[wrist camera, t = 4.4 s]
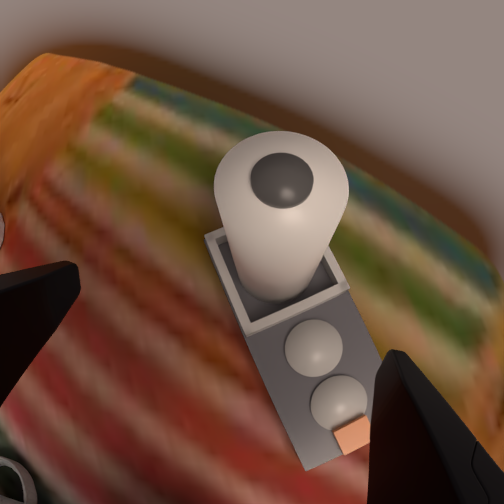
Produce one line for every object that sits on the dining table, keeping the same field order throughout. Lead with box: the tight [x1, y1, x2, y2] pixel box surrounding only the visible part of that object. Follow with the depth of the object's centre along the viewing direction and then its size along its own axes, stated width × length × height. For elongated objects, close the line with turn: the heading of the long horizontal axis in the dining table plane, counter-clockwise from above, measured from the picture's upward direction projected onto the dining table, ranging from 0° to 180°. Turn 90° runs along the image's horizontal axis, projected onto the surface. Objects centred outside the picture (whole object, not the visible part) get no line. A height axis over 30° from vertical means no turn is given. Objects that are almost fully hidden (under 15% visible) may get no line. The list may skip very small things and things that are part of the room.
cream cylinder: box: [214, 131, 349, 304], centre depth 14 cm, size 4×4×9 cm
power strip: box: [204, 227, 382, 471], centre depth 17 cm, size 15×6×2 cm, turn 23°
